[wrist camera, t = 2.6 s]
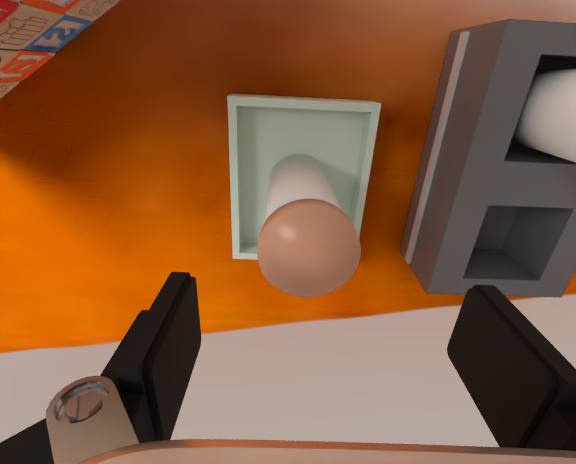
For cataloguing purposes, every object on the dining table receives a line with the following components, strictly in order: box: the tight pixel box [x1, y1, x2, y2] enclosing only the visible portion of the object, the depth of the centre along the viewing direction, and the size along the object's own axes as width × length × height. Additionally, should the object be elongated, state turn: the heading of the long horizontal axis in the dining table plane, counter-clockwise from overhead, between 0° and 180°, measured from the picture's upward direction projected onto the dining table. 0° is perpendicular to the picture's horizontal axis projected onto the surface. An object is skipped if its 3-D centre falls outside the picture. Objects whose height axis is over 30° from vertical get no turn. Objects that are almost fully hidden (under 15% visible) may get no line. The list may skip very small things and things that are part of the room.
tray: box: [227, 93, 381, 260], centre depth 22 cm, size 11×9×2 cm
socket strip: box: [400, 19, 576, 297], centre depth 20 cm, size 15×9×6 cm, turn 177°
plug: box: [257, 154, 361, 297], centre depth 18 cm, size 4×4×10 cm
